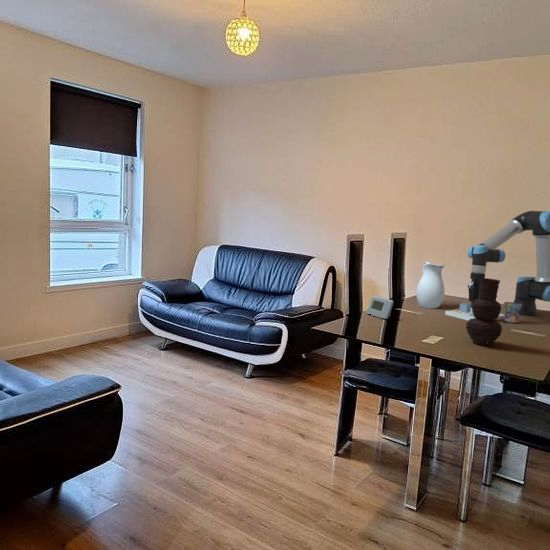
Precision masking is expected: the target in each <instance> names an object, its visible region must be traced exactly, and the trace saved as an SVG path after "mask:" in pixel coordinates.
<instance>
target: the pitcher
mask: <svg viewBox="0 0 550 550" xmlns="http://www.w3.org/2000/svg"><path fill="white" fill-rule="evenodd" d="M422 265H423V266H422V276H421V278H420V280H419V282H418V284H417V286H416V287H417V288H416V292H415V293H416V300H417V303H418V305H419V306H420V307H422V308H425V309H439V307H440V306H441V305H442V304H443V301H444V298H445V293H446V292H445V285H444V281H443V277H442V271H443V269H444V267H445V264H442V265H436V264H433V263H431V262H430V261H425V262H424V263H423V264H422Z"/></svg>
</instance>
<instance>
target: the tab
mask: <svg viewBox="0 0 550 550" xmlns="http://www.w3.org/2000/svg"><path fill="white" fill-rule="evenodd" d="M458 309H459V311H463V312H469V311H471V304H470V303H468V302H467V303H466V302H462V303H460V304H459V308H458Z"/></svg>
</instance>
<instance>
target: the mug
mask: <svg viewBox="0 0 550 550" xmlns="http://www.w3.org/2000/svg"><path fill="white" fill-rule="evenodd" d="M513 302H514V301H513ZM513 302H510V301H504V304H503V305H504V308H505V313H504V315H505V316H504V318H503V319H502V320H503V322H506V323H511V324H518V323H520V319H519V315H520V314H519V310H520V308H521V307H522V304H519V303H513Z"/></svg>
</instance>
